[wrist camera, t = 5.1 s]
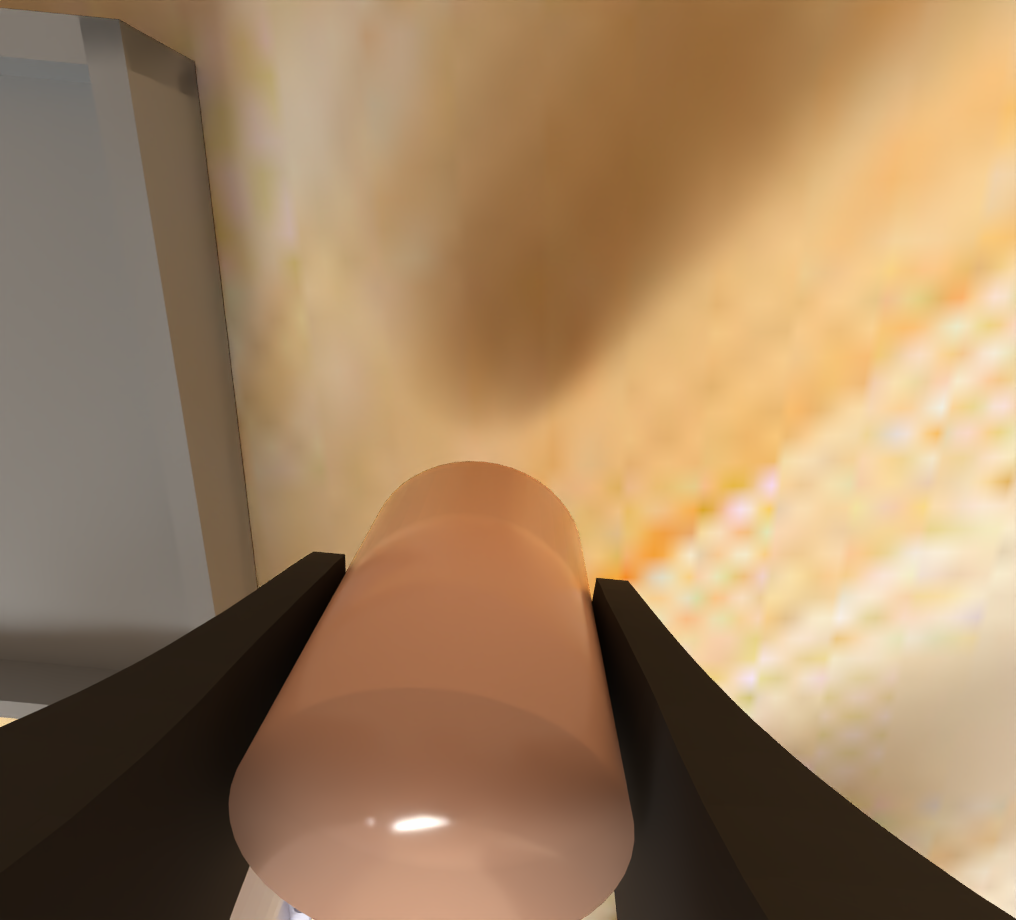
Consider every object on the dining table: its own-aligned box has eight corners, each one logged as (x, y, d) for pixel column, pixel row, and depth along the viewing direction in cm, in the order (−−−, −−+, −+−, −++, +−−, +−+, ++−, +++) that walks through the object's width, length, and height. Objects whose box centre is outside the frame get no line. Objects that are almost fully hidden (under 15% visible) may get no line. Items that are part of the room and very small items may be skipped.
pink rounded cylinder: (566, 650, 13) (599, 967, 7) (371, 632, 13) (250, 936, 7) (597, 472, 11) (674, 710, 5) (368, 450, 11) (202, 666, 5)
